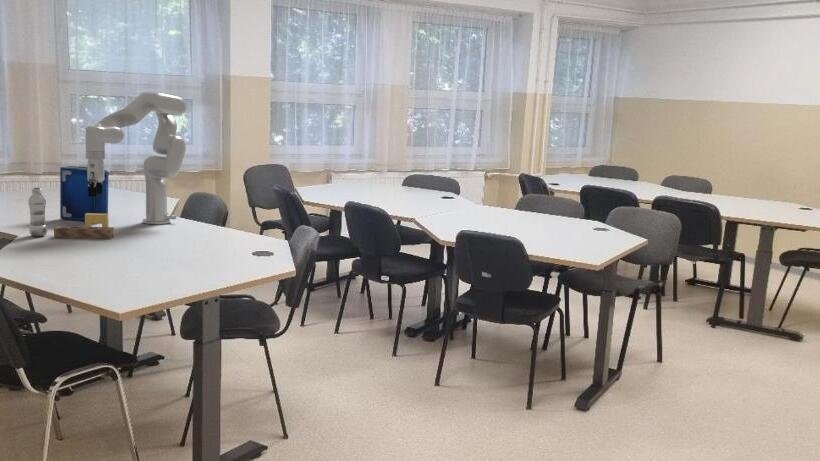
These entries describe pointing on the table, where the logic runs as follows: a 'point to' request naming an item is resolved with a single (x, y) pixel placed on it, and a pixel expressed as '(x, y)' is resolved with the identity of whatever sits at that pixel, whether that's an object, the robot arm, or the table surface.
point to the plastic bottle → (37, 213)
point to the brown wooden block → (84, 232)
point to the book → (80, 194)
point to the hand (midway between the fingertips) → (95, 195)
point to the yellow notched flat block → (96, 219)
